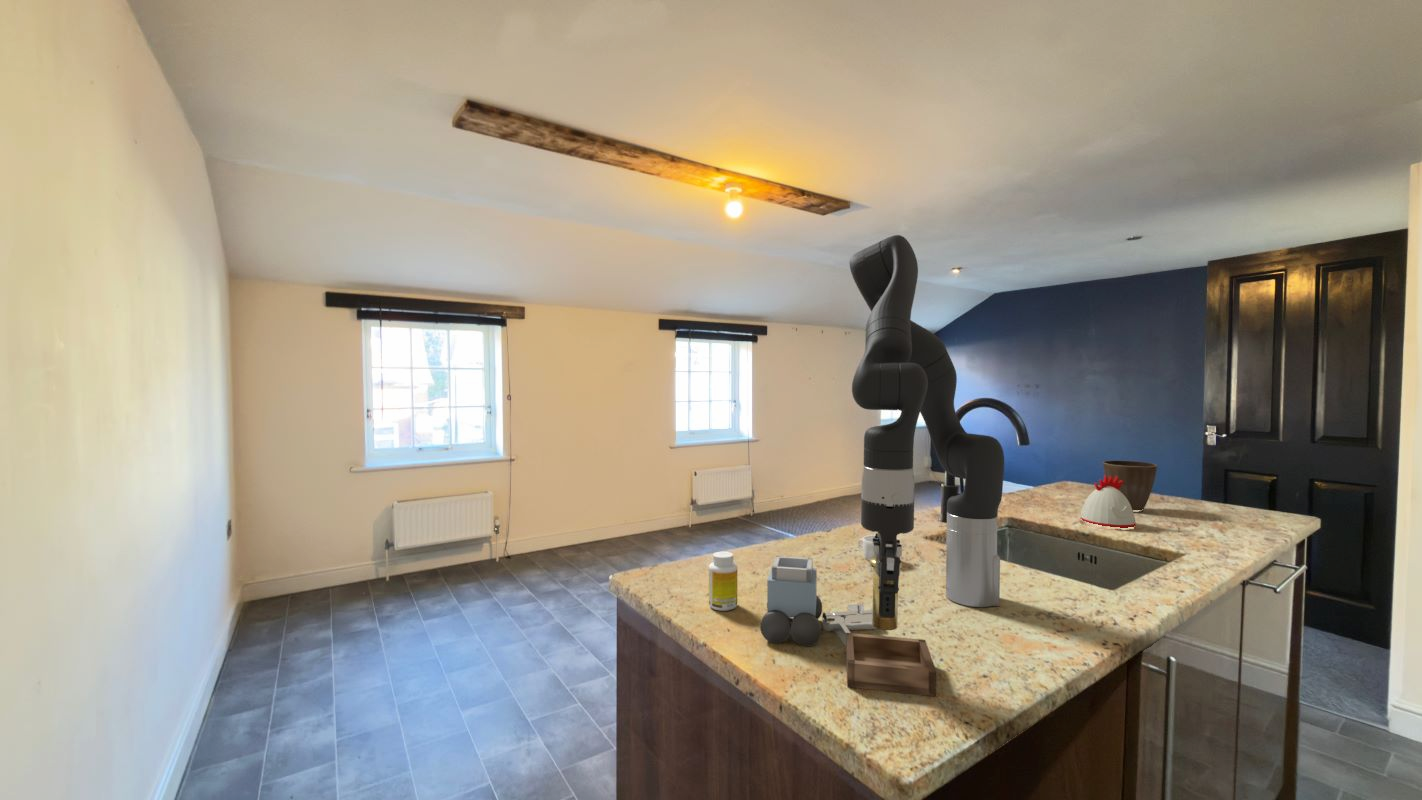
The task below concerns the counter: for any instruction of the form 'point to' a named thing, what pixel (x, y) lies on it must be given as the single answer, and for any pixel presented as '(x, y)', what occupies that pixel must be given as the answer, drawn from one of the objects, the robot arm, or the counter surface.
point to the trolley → (792, 602)
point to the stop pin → (876, 619)
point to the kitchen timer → (1108, 506)
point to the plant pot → (1133, 480)
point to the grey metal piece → (848, 620)
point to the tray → (889, 664)
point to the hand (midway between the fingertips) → (885, 610)
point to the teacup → (867, 546)
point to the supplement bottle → (723, 582)
